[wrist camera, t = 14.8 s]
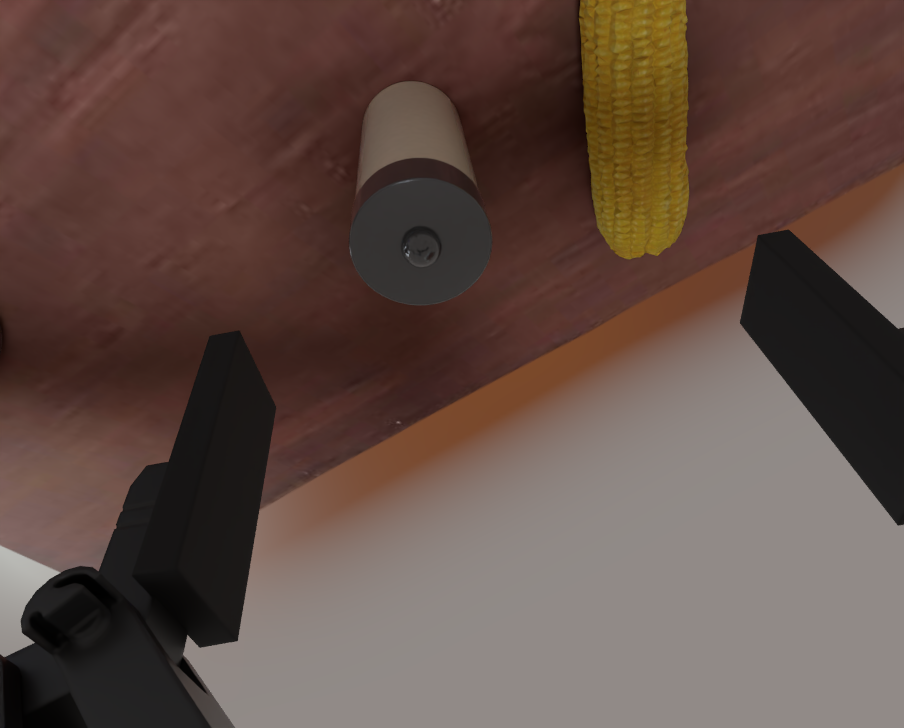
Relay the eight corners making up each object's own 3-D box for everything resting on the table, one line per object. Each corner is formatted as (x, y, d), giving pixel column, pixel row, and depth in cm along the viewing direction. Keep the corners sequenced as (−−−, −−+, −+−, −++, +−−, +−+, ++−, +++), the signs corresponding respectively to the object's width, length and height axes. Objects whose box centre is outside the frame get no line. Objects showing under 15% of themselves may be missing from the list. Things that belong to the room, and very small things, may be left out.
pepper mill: (373, 190, 39) (367, 327, 28) (348, 89, 35) (329, 203, 24) (469, 173, 39) (502, 304, 27) (455, 69, 35) (486, 175, 23)
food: (669, 212, 41) (703, 256, 37) (587, 233, 42) (611, 279, 38) (663, -195, 28) (716, -202, 23) (542, -155, 28) (571, -156, 24)
